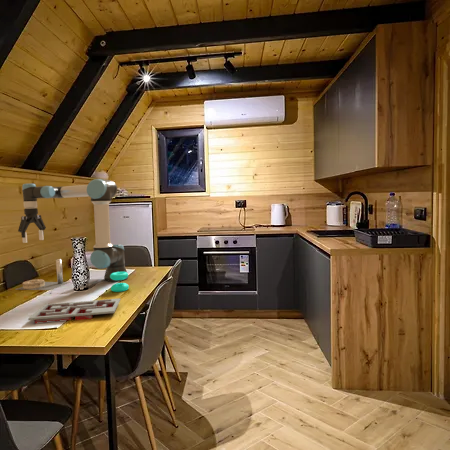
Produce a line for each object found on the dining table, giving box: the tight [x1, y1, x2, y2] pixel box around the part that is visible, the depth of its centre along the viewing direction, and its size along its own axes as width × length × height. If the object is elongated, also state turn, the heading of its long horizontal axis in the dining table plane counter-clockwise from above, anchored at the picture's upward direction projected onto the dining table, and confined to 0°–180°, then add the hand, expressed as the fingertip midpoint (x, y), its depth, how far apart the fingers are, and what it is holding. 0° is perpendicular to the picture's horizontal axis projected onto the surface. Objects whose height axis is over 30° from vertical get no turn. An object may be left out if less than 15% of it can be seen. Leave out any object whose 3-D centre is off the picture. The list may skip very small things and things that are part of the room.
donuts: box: [110, 271, 130, 293], centre depth 195 cm, size 10×10×10 cm
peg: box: [55, 258, 64, 284], centre depth 210 cm, size 3×3×15 cm
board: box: [14, 281, 71, 291], centre depth 206 cm, size 24×18×2 cm
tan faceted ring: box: [22, 278, 45, 289], centre depth 205 cm, size 11×11×3 cm
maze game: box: [27, 298, 121, 324], centre depth 156 cm, size 35×20×3 cm, turn 99°
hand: (33, 241), depth 217 cm, fingers open, 13 cm apart
